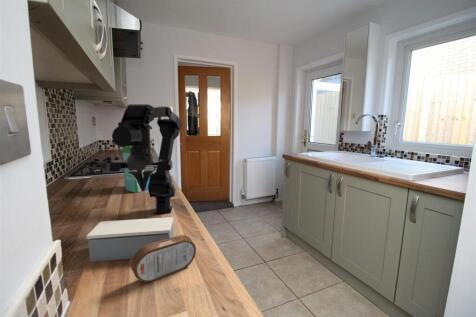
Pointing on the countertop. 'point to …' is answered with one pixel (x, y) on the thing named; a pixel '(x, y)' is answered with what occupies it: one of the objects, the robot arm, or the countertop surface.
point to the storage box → (122, 245)
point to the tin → (163, 258)
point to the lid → (131, 227)
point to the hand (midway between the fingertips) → (143, 190)
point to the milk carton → (130, 180)
